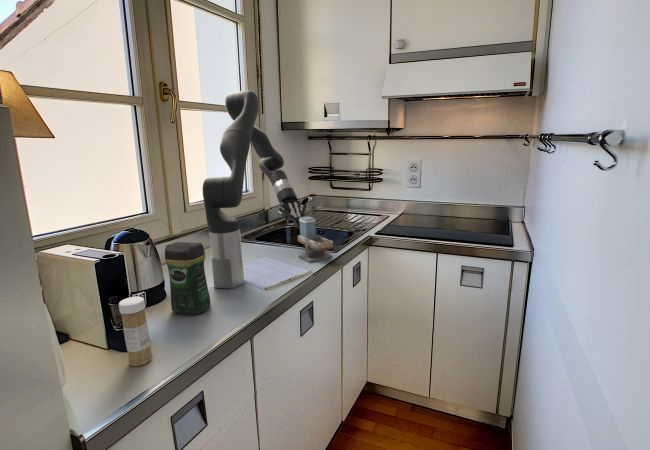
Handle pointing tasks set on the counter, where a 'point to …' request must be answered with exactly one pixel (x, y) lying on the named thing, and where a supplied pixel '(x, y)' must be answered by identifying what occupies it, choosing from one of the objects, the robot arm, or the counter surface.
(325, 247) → the brown cleat
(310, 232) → the blue gray lidded container
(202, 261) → the coffee jar
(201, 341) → the counter surface
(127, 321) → the sprinkles bottle
